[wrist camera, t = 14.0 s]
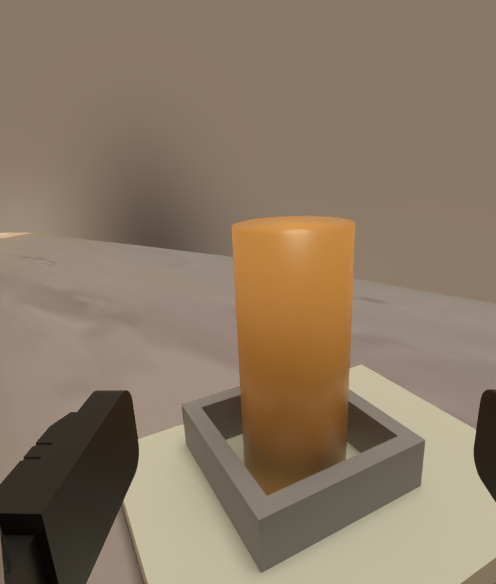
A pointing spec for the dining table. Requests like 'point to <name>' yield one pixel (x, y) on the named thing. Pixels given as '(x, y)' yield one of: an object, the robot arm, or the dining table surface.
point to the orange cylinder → (293, 343)
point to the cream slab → (316, 501)
